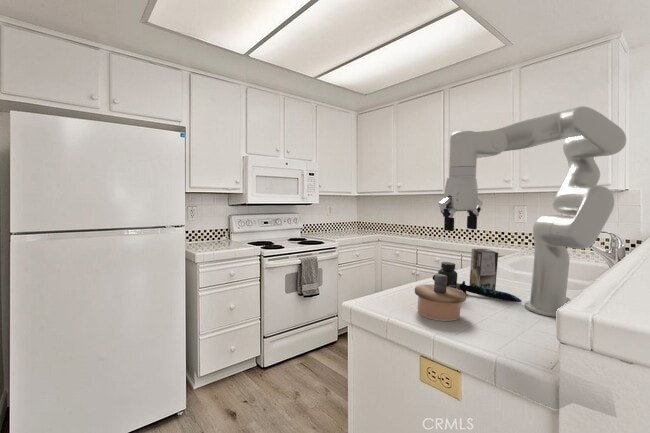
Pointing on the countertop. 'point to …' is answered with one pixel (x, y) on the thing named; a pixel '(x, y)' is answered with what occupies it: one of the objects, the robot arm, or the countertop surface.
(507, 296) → the knife
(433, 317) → the bowl
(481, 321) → the countertop surface
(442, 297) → the lid
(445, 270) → the supplement bottle
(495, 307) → the countertop surface
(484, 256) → the coffee box
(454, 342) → the countertop surface
